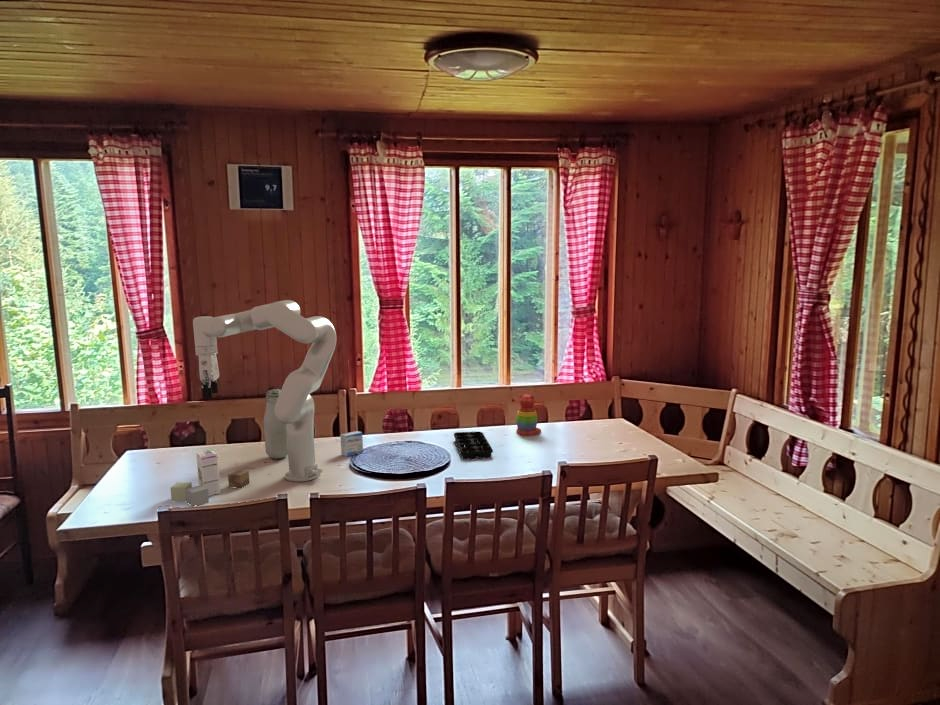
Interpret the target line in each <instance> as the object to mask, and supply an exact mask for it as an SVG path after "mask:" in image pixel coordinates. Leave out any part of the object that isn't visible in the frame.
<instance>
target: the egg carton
mask: <svg viewBox="0 0 940 705" xmlns="http://www.w3.org/2000/svg"><path fill="white" fill-rule="evenodd" d="M453 436H454V440H455V443H456V444H457V447H458V450H459V451H460V452H459V453H460V455H461V459H462V460H474V459H476V458H478V459H489V458H491V457H492V454H493V452H494V450H493V448H492V447H491V445H490V443H489V441H488V440H487V438H486V436H485V434H484V433H483V432H482V431H460V432H459V431H458V432H454V433H453Z"/></svg>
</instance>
